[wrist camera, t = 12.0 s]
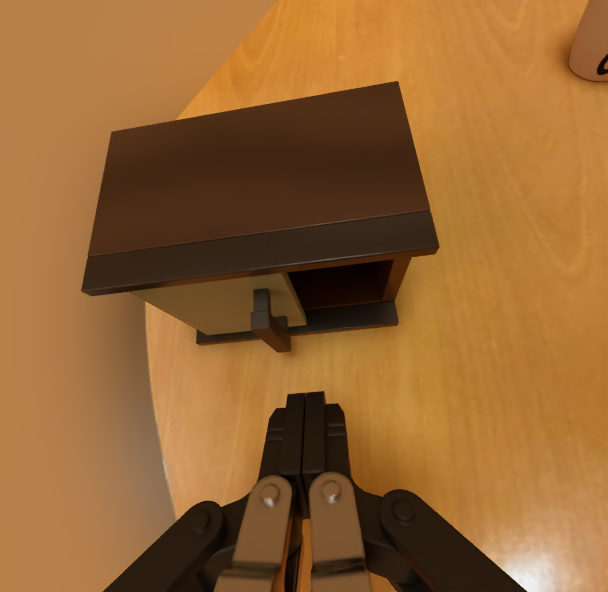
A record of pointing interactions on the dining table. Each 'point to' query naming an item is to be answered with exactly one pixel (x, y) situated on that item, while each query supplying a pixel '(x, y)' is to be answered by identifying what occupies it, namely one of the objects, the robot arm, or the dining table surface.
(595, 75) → the cup
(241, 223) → the cabinet
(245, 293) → the door
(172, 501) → the dining table surface
